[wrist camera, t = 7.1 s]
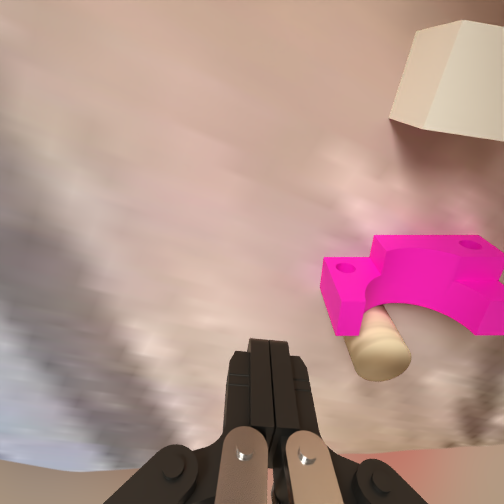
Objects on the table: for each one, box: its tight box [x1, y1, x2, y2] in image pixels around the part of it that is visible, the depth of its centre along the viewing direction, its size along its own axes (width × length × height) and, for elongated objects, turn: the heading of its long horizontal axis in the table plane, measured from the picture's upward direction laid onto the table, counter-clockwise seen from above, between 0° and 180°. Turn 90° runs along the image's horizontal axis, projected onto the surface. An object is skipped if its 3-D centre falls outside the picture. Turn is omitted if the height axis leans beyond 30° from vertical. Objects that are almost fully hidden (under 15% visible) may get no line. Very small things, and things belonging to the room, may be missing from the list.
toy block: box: [320, 235, 504, 336], centre depth 30 cm, size 15×6×8 cm, turn 90°
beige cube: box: [389, 20, 504, 141], centre depth 23 cm, size 6×6×6 cm
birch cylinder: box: [343, 304, 411, 381], centre depth 33 cm, size 5×5×8 cm
